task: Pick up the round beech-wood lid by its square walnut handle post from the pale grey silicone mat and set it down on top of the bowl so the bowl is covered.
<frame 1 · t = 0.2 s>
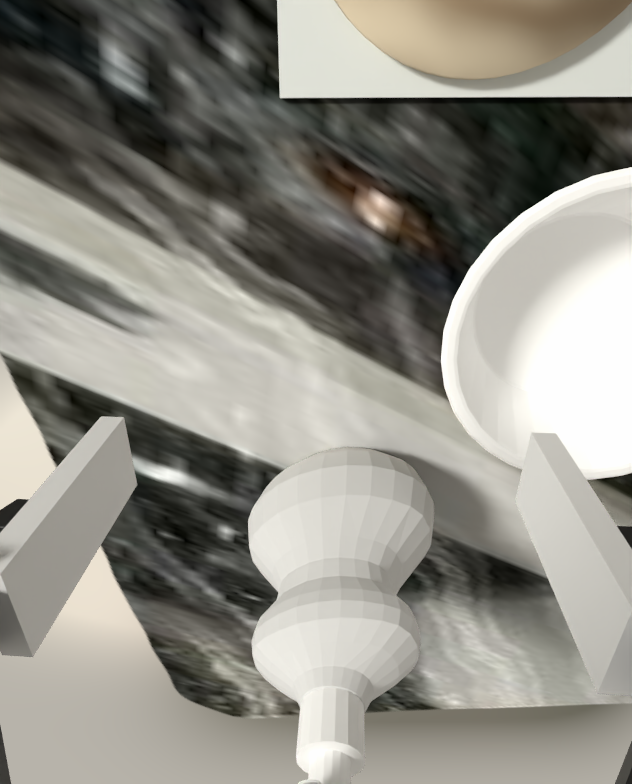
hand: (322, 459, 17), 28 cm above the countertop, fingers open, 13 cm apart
bowl: (564, 307, 42), on the countertop
soap bottle: (341, 476, 51), on the countertop
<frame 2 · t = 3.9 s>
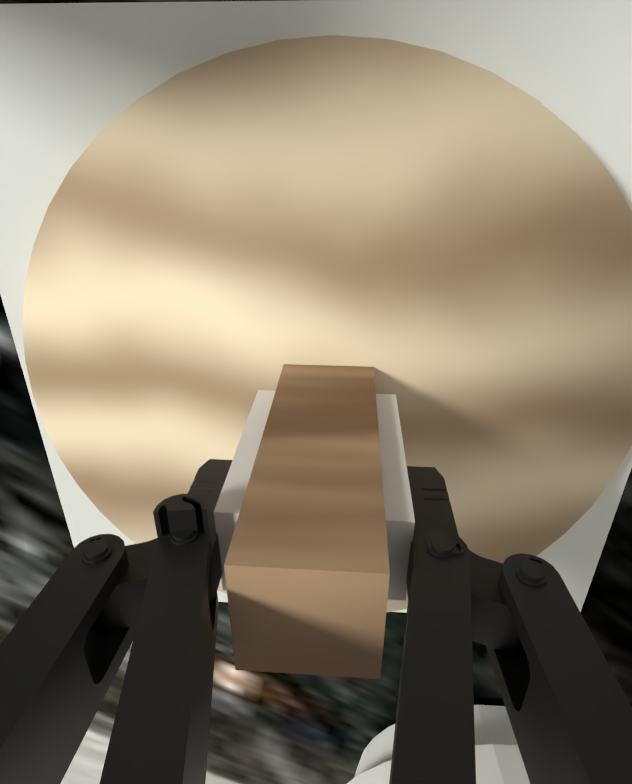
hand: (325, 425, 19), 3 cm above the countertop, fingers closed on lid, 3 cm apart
lid: (329, 390, 21), point 1 cm above the countertop, touching gripper, mat
bowl: (472, 758, 34), on the countertop
mat: (329, 384, 22), on the countertop
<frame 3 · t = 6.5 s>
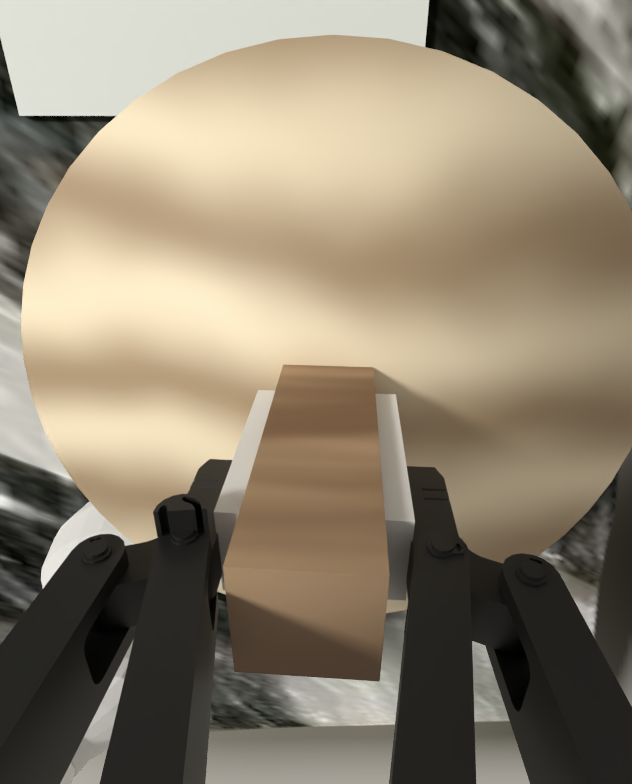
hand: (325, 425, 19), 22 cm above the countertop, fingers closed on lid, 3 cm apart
lid: (328, 391, 21), point 19 cm above the countertop, touching gripper
soap bottle: (167, 500, 50), on the countertop
when the fingers open (12 cm above the countertop, at t = 9.4 s): lid drops 1 cm, resting on bowl.
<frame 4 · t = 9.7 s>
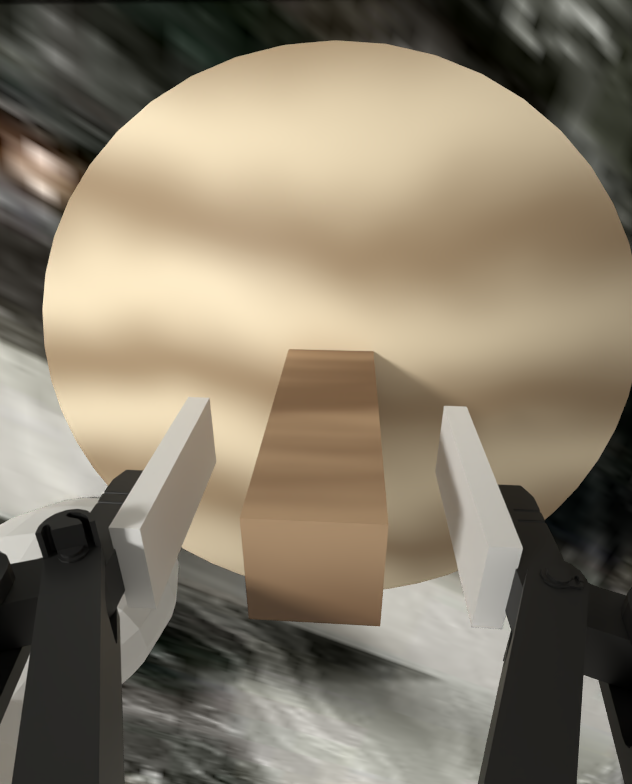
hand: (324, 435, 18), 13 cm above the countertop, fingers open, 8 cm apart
lid: (331, 375, 22), point 8 cm above the countertop, touching bowl
soap bottle: (96, 533, 39), on the countertop
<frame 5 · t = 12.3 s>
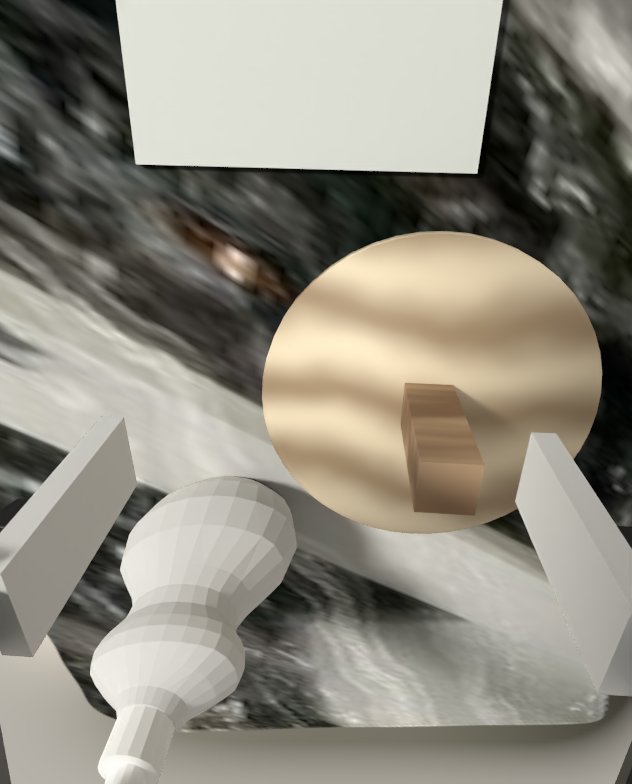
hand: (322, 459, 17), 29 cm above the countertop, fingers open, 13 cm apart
lid: (424, 397, 38), point 8 cm above the countertop, touching bowl
soap bottle: (226, 503, 55), on the countertop
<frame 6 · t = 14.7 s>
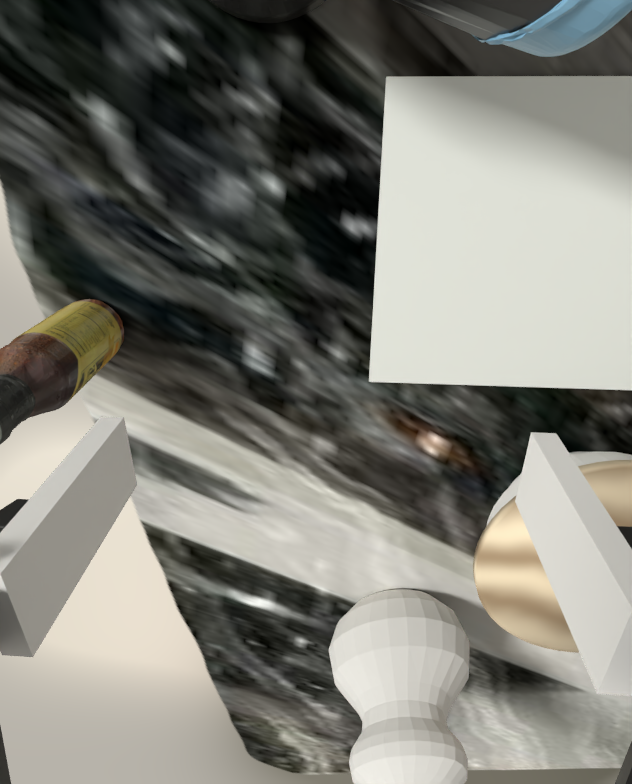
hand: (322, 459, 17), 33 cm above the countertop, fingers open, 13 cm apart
lid: (599, 561, 50), point 8 cm above the countertop, touching bowl
sauce bottle: (99, 324, 51), on the countertop
bowl: (567, 502, 57), on the countertop, touching lid
soap bottle: (394, 606, 67), on the countertop
mat: (525, 250, 45), on the countertop
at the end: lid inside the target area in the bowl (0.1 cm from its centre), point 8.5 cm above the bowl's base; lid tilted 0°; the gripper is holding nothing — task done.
